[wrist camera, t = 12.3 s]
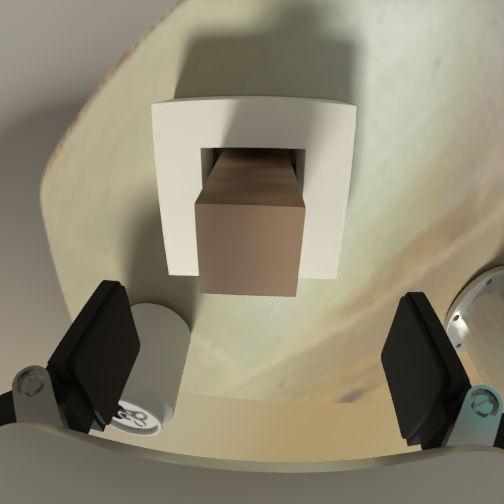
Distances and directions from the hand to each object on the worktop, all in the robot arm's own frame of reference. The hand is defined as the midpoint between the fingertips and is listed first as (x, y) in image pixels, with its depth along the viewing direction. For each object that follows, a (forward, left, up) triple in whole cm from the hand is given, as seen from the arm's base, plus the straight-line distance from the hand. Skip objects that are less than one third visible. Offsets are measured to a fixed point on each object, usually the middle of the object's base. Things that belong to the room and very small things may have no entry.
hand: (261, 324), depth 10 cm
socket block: (+1, 0, -16) cm, 16 cm away
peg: (+1, 0, -16) cm, 16 cm away
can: (+11, +16, -16) cm, 25 cm away
